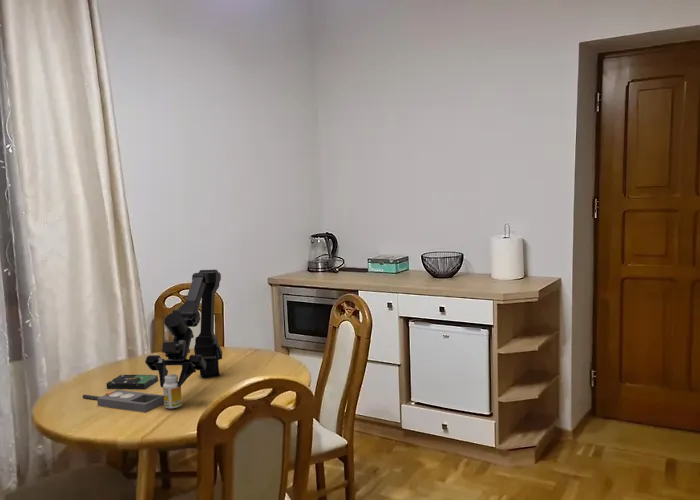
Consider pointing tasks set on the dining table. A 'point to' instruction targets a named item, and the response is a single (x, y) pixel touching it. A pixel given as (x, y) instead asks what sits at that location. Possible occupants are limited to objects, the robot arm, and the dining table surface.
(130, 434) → the dining table surface
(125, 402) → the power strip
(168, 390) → the supplement bottle
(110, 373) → the dining table surface
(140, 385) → the disk drive
